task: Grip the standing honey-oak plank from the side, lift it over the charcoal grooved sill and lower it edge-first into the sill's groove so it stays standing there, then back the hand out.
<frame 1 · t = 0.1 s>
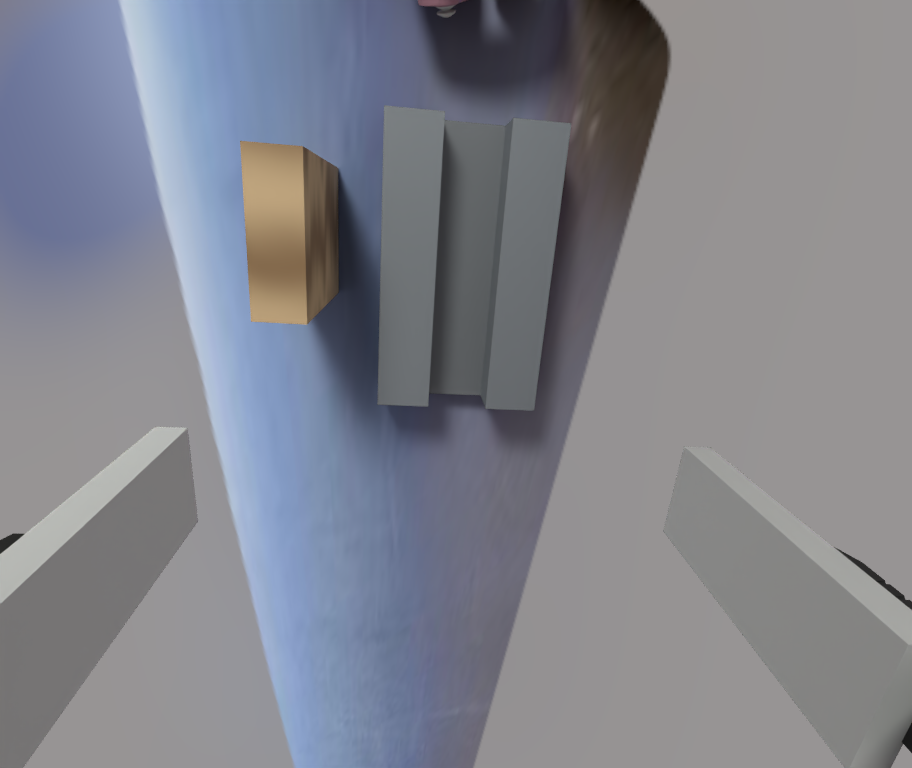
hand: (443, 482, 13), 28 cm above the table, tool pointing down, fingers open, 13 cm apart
grooved sill: (461, 268, 39), on the table
oak plank: (318, 231, 37), on the table
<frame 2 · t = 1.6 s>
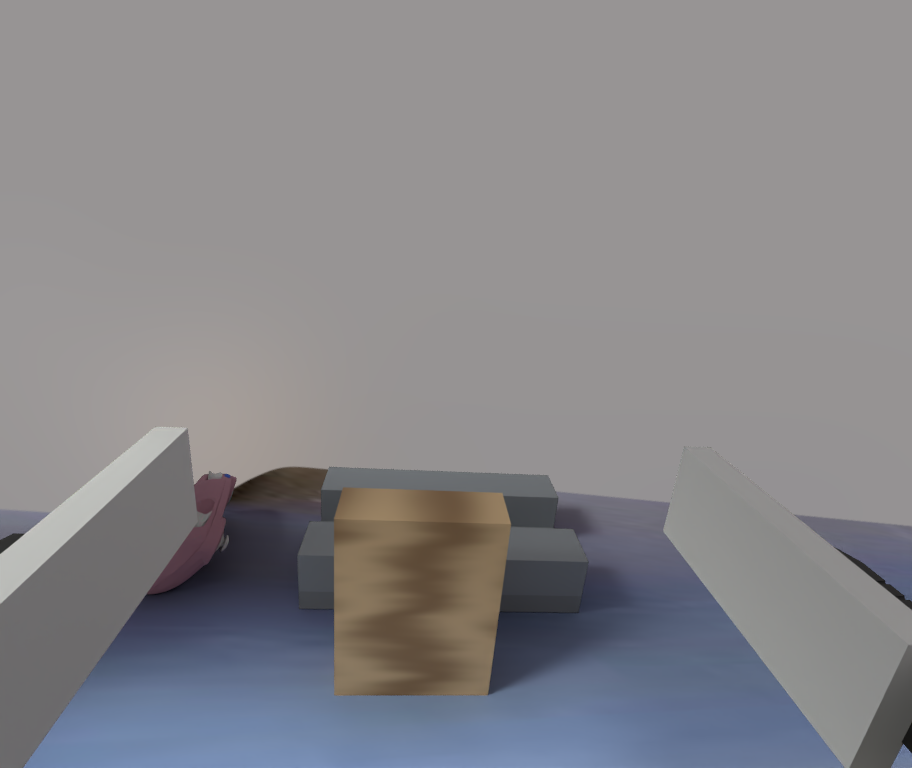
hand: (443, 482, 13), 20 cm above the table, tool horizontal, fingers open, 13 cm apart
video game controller: (196, 553, 39), on the table
grooved sill: (439, 555, 41), on the table
oak plank: (412, 672, 31), on the table
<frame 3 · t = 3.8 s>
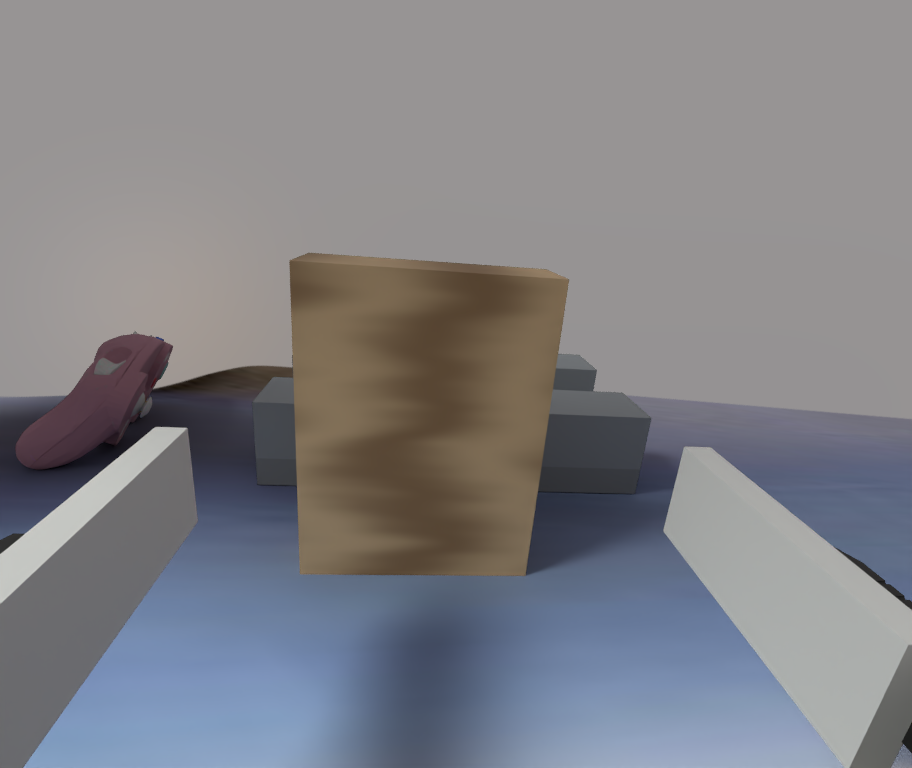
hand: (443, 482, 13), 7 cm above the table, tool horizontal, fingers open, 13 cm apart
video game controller: (115, 435, 30), on the table
grooved sill: (446, 439, 32), on the table
oak plank: (415, 550, 21), on the table
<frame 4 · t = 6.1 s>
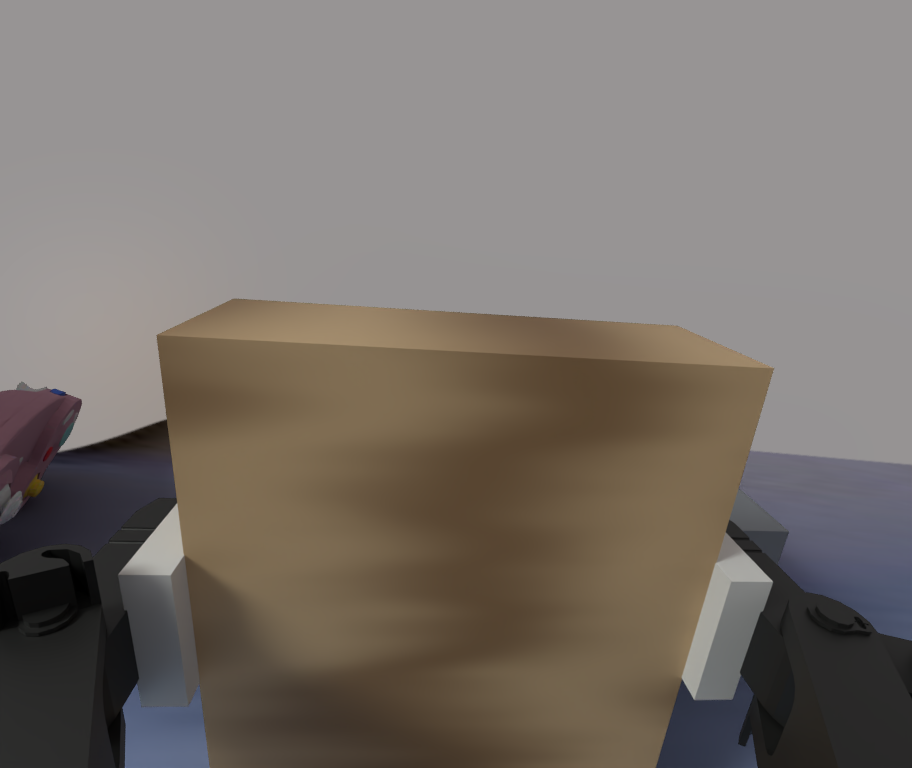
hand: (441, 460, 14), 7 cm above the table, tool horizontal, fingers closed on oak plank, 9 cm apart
grooved sill: (468, 530, 23), on the table
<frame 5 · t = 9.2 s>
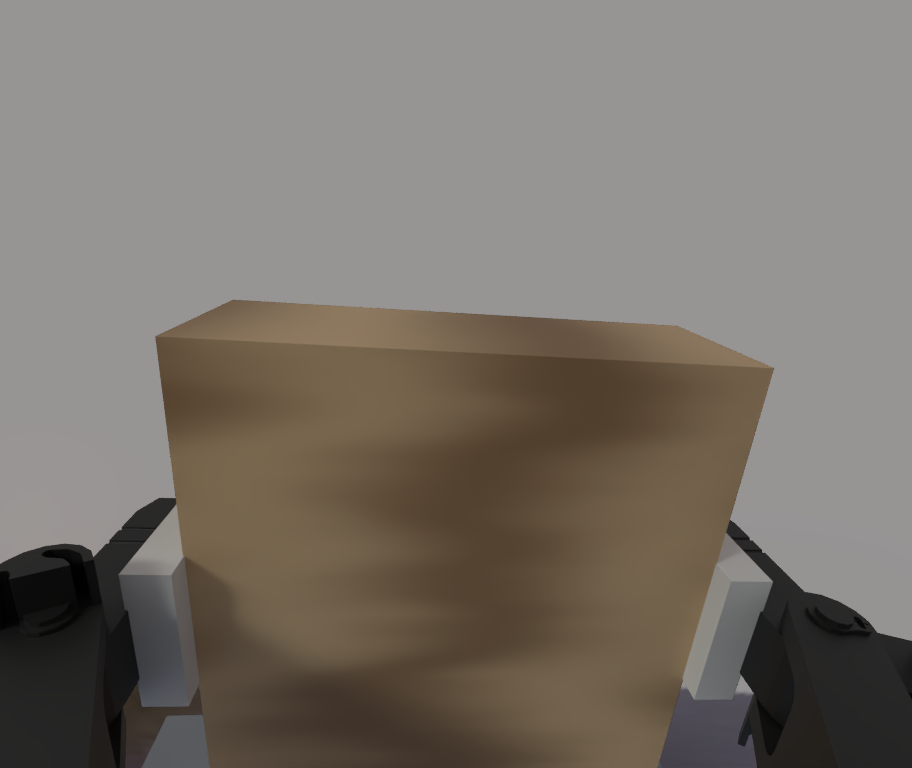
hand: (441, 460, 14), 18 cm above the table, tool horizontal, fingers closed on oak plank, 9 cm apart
when the fingers open (10 cm above the table, at t = 12.1 s): oak plank drops 1 cm, resting on grooved sill.
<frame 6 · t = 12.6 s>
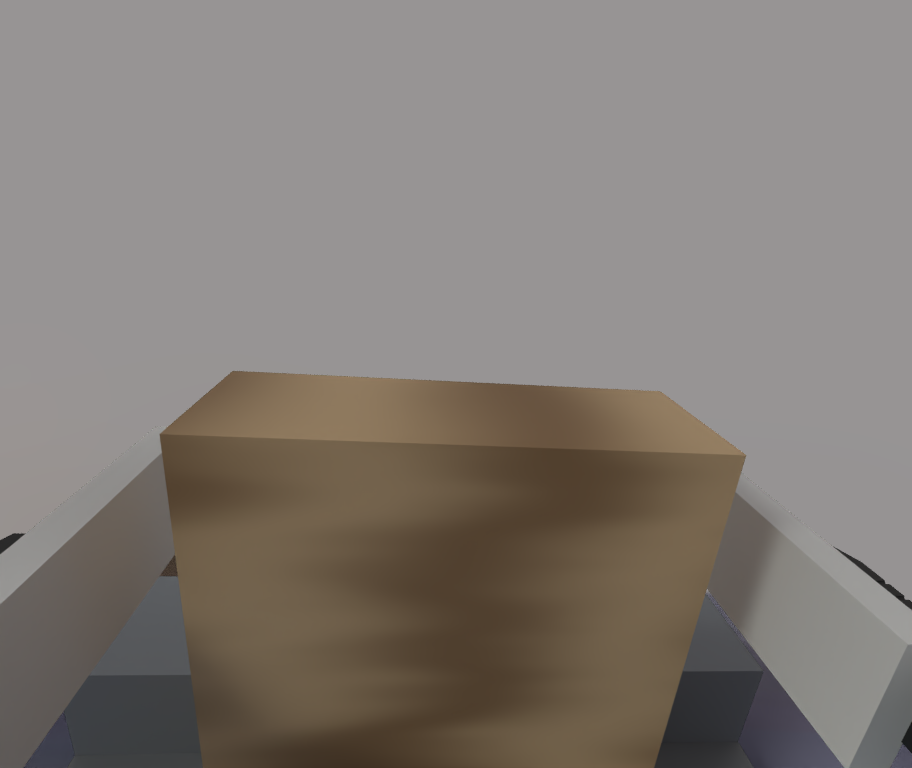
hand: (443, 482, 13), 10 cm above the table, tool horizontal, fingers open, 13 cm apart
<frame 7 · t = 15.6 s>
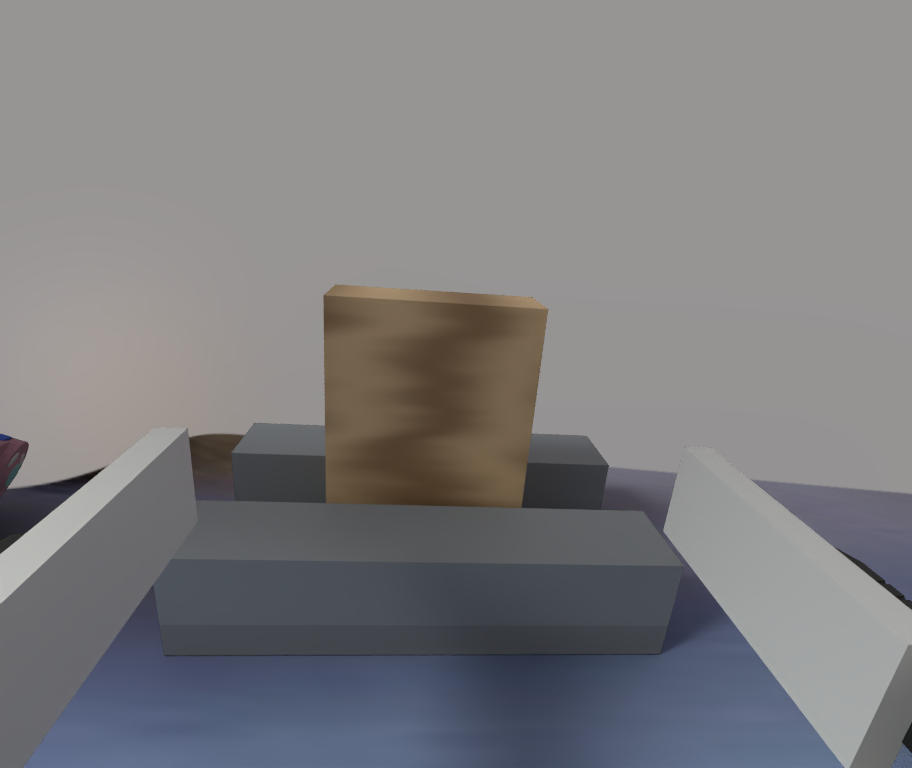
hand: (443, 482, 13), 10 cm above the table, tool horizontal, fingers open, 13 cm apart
grooved sill: (422, 557, 26), on the table
oak plank: (422, 533, 25), point 1 cm above the table, touching grooved sill
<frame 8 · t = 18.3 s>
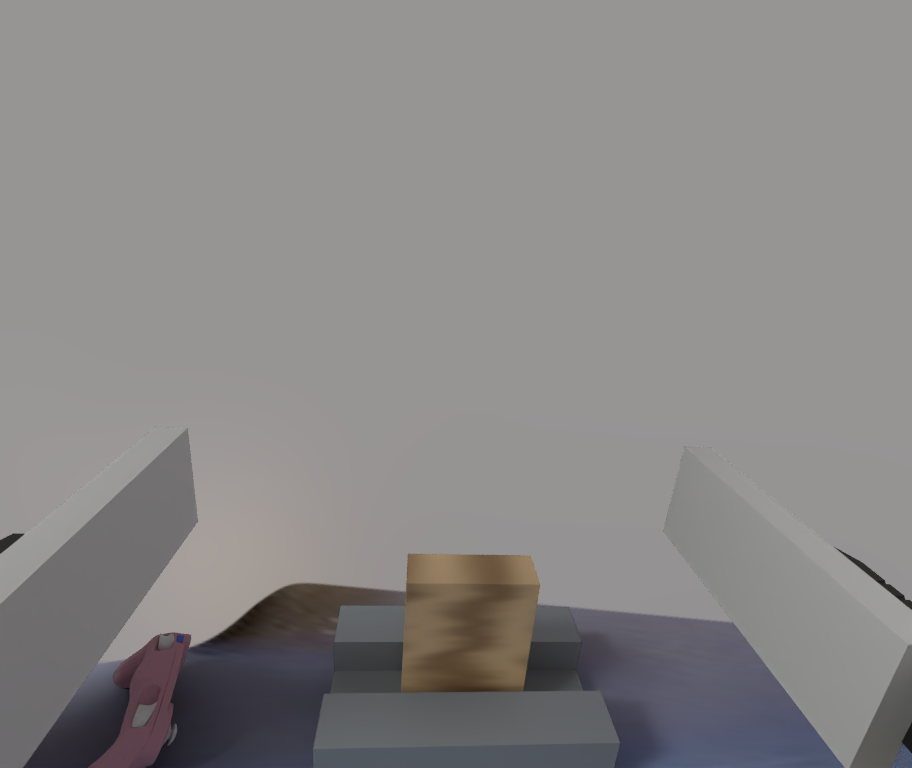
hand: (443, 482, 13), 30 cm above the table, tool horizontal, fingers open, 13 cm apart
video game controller: (144, 731, 36), on the table
grooved sill: (458, 708, 39), on the table
oak plank: (458, 695, 39), point 1 cm above the table, touching grooved sill
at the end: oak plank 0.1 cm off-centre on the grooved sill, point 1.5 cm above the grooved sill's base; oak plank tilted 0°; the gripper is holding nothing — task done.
